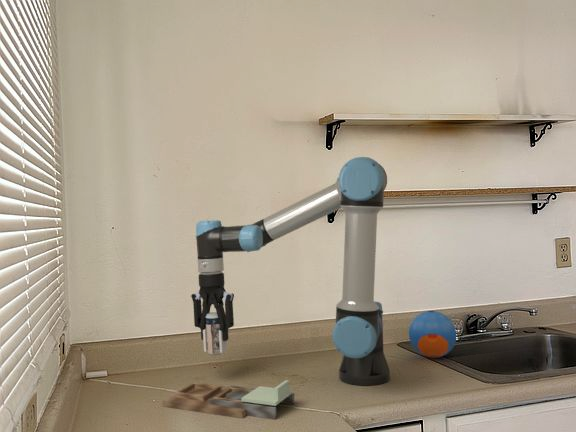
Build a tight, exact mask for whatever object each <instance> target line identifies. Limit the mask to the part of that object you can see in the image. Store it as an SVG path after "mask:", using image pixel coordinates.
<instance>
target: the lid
mask: <svg viewBox="0 0 576 432" xmlns="http://www.w3.org/2000/svg"><path fill="white" fill-rule="evenodd" d="M292 393H293V389H290V380H288V379H285V380H284V381H282V382H281V383H279V384H277V386H275V387H272V386H271V387H270V386H260V385H258V387H256V388H255V389H254V390H253V391H251V392H250V393H248V394H247V395H245V396H244V397H242V398H241V401H243V402H250V403H258V404H261V405H264V406H272V407H276V406H277V405H279V404H280V402H281V401H283V400H284V399H285V398H286V397H288V396H289V395H290V394H292Z"/></svg>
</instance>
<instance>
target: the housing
mask: <svg viewBox="0 0 576 432" xmlns="http://www.w3.org/2000/svg"><path fill="white" fill-rule="evenodd" d="M254 389H256V388H254V387H247V386H237V385H229V386H226V385H217V384H210V383H209V384H208V383H201V382H192V383H189V384H188V385H186V386H185V387H183V388H181V389H179V390H177V391H174V393H173V394H172V395H171V396H169V397H167V398H165V399H163V400H162V407H164V408H170V409H177V410H185V411H191V412H197V413H204V414H210V413H211V415H217V416H225V417H232V418H239V419H243V418H244V417H246V416H249V417H250V416H251V417H256V418H261V419H262V418H263V419H270V420H276V419H277V407H276V406H271V405H264V404H258V403H250V402H243V401H241V398H242V397H244V396H245V395H247V394H248V393H250V392H251V391H253V390H254ZM280 403H281V404H287V405H295V393H294V392H292V394H290V395H289V396H288V397H286V398H285V399H284V400H283V401H281V402H280ZM280 403H279V404H280Z"/></svg>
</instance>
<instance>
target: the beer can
mask: <svg viewBox="0 0 576 432" xmlns="http://www.w3.org/2000/svg"><path fill="white" fill-rule="evenodd" d="M205 318H206V334H207V352H206V353H207V354H208V355H210V356H219V355H221V354H222V353H220V345H219V330H220V329H221V327H220V323H219V319H218V315H217V312H216V311H212V312H211V311H210V313H207V315H206V317H205Z"/></svg>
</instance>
